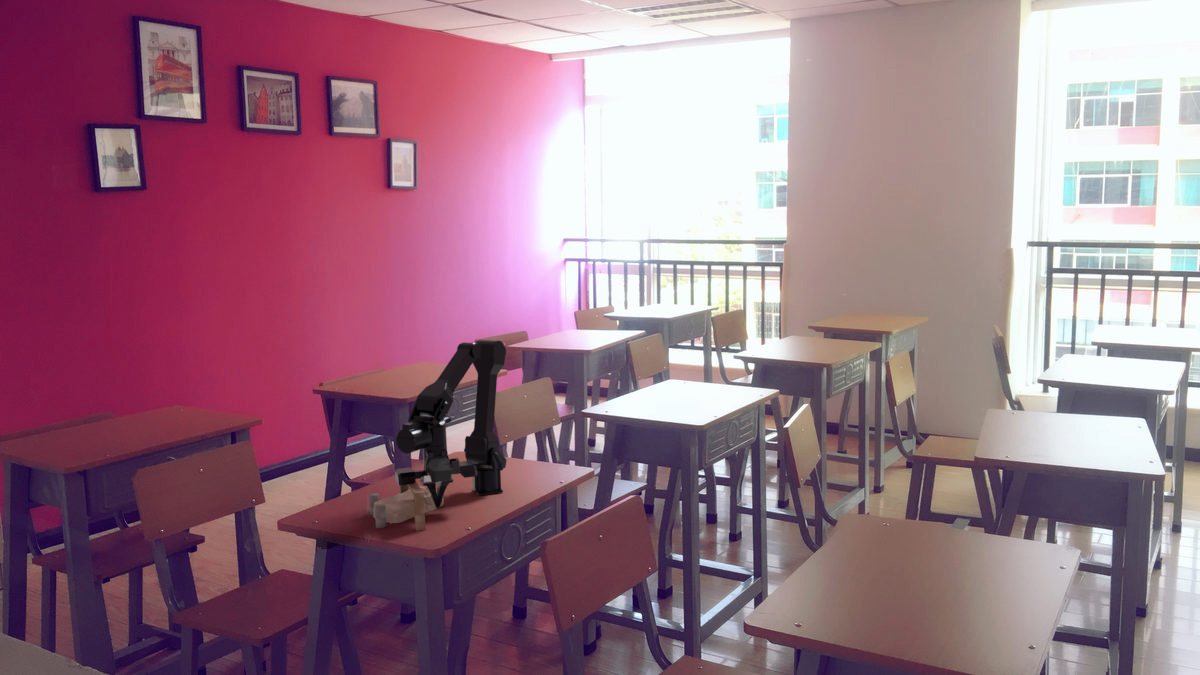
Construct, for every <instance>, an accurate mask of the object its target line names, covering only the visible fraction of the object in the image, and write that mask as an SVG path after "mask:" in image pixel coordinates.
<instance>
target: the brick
mask: <svg viewBox="0 0 1200 675" xmlns="http://www.w3.org/2000/svg"><path fill="white" fill-rule="evenodd" d="M419 487H420V488H421V489H422V491H423V492H424V510H425V514H427V513H430V512H433V511H435V510H437V509H438V508H436V506H435V504H434V501H433V499H432V496H431V494H430V491H429V489H428V487H427V486H421V485H419ZM436 493H437V487H436ZM444 498H445V495H443V498H442V502H441V505H440V508H441V507H442V506H444V501H445V499H444ZM380 504H383V505H385V506H386V523H388V522H389V523H388V524H392V523H397V524H399V523H402V522H405V521H408V520H409V519H413V518H414V519H415V516H414V495H413V493H412V492H411V490H410V489H409V490H407V491H406V492H404V493H401V494H400V493H398V494H395V495H391V496H388V497H384V498H383V499H380V501H376V502H375V503H374V508H373V516H372V518H373V519H374V518H375V506H376V505H380Z"/></svg>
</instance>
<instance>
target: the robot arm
mask: <svg viewBox="0 0 1200 675" xmlns="http://www.w3.org/2000/svg"><path fill="white" fill-rule="evenodd" d="M456 348H457V349H456V352H455V353H454V354H453V356H452V357H451V359H450V360H449V361H448V363H447V365H446V366H445V367H444V368H443V371H442V372H441V373H440V375H439V376H438V377H437V379H436V380H435V381H434V382H432V383H431V384H429V385H427V386H425V388H423V389H422V390H421V391H420V393H419V394H418V396H417V397H416V400H415V403H414V405H413V407H412V411H411V412H410V415H409V417H408V423H407V422H406V423H403V424H402V425H401V426H402V427H401V428H402V429H400V430H399V431H398V432H397V435H396V438H395V442H396V446H397V448H398V450H399V451H400V452H401V453H403V454H406V455H407V454H411V453H414V452H418V451H419V450H422V459H423V470H422V469H421V470H414V468H413V467H412V466H411V467H404V468H397V469H396V470H395V471H394V472H395V473H394V476H395V477H394V478H395V482H396V483H397V484H398V486H399V485H401V486H402V485H408V484H413V483H414V482H415V481H416V482H417V480H418V479H419V482H420V483H421V485H422V487H428V489H429V491H430V494H431V496H432V499H433V501H434V504H435V506H436V508H437V509H440V508H441V507H440V505H441V502H442V498H443V495H444V494H445V491H446V490H447V487H448V486H449V484H451V483H453V482H454V479H453V475H458V474H459V475H460V476H462V477H463V478H472V490H473V491H474V492H475V493H476V494H477V495H478V496H484V495H485V496H486V495H493V494H500V493H501V492H502V493H504V489H502V477H501V471H504V469H506V466H507V458H506V457H505V456H504V455H503V453H502V452H501V451H500V445H499V444H500V442H499V440H498V437H497V435H496V434H495V431H494V426H495V425H494V424H495V412H496V411H495V410H496V398H497V384H498V383H497V382H498V375H499V373H500V372H501V370H502V368H503V367H504V365H505V360H506V355H507V346H505V345H504V343H503V341H502V340H493V339H478V340H477V341H476V342H461V343H459V344H458V345H457V347H456ZM472 365H473V366H474V369H475V370H476V373H477V381H476V395H475V397H476V398H475V409H474V410H475V411H474V423H473V431H471V433H470V435H469V436H468V435H466V436H465V438H464V449H463V452H464V456H465V459H466V460H463V461H460V460H459V457H454V458H449V454H448V452H449V451H448V444H447V442H448V441H447V440H448V439H447V424H450V423H452V419H451V418H450V417H448V413H449V412H450V409H451V407H452V405H453V402H454V393H455V390H456V389H457V387H458V386H459V384H460V382H461V381H462V380H463V379H464V377H465V376H466V374H467V372H468V370H469V369H470V368H471V367H472ZM436 488H437V493H436ZM444 496H445V495H444Z"/></svg>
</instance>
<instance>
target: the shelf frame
mask: <svg viewBox="0 0 1200 675" xmlns="http://www.w3.org/2000/svg"><path fill="white" fill-rule="evenodd" d="M419 486H420V485H419V484H418V482H417V480H416V481H415V482H414V483H413V484H408V485H402V486H401V485H398V488H399V490H398V491H399V493H398V494H401V493H404V492H406V491H407V490H411V492H412V493H413V495H414V516H415V517H414V529H415V531H416V532H420V530H421V531H425V530H426V513H425V510H424V492H423V491H422V489H421V488H420V487H419ZM368 499H369V500H368V504H369V516H370V515H371V516H370V517H373V508H374V503H375V502H376V501H380V500H381V499H380V494H379V493H376V492H375V493H370V494H369V495H368ZM374 520H375V528H376V529H378V528H382V529H386V528H387V527H386V526H387V522H386V506H385V505H383V504H380V505H376V506H375V519H374ZM385 527H386V528H385Z"/></svg>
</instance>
